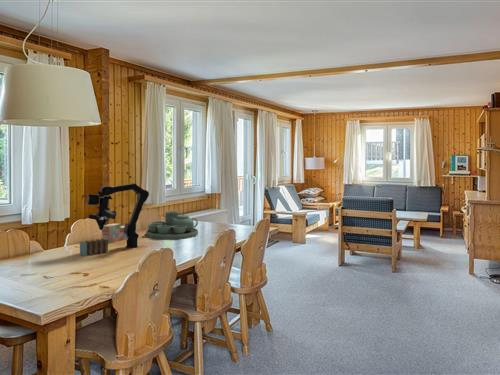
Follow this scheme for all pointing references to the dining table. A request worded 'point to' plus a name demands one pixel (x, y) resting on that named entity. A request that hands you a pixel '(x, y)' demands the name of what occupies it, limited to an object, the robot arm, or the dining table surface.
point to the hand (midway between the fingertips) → (100, 229)
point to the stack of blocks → (113, 233)
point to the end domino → (83, 248)
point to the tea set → (173, 227)
